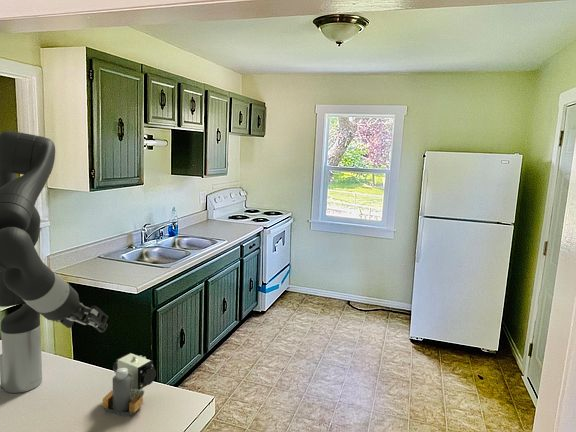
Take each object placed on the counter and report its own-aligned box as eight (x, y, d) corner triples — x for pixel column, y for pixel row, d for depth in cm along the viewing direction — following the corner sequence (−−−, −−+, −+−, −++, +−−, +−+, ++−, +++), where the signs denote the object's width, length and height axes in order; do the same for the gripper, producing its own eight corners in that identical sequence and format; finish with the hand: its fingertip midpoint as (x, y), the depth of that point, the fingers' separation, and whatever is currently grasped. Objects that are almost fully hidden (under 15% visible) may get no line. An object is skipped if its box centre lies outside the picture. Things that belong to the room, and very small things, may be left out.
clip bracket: (102, 411, 107) (102, 399, 107) (112, 401, 112) (112, 389, 111) (133, 417, 106) (133, 404, 105) (143, 406, 110) (143, 394, 110)
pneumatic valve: (143, 407, 110) (143, 365, 108) (112, 394, 115) (112, 354, 113) (158, 397, 115) (159, 357, 113) (128, 385, 120) (128, 346, 118)
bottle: (109, 409, 107) (108, 373, 105) (119, 399, 111) (119, 364, 110) (125, 412, 106) (125, 376, 105) (135, 402, 111) (135, 367, 109)
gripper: (89, 282, 85) (122, 314, 97) (28, 275, 87) (68, 307, 100) (72, 316, 80) (108, 345, 93) (8, 307, 83) (52, 337, 95)
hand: (87, 326), depth 96 cm, fingers open, 8 cm apart
